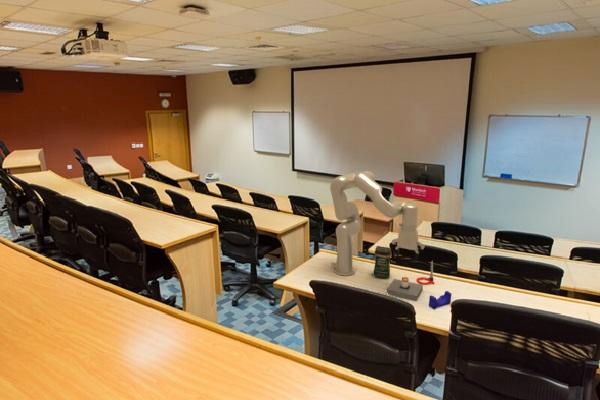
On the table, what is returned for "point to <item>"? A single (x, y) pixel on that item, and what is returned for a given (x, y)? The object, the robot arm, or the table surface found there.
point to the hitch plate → (410, 294)
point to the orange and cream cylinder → (404, 283)
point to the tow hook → (427, 278)
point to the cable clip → (440, 300)
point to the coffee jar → (382, 262)
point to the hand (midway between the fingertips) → (406, 257)
